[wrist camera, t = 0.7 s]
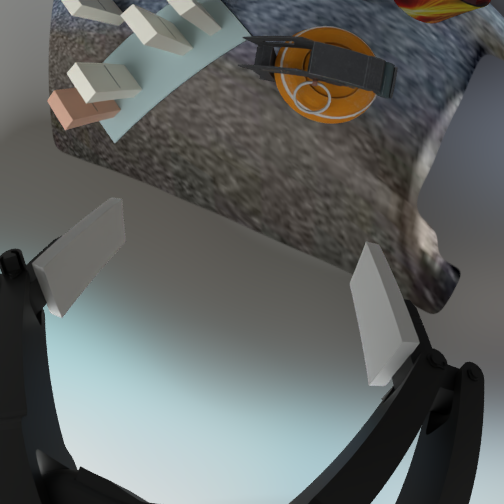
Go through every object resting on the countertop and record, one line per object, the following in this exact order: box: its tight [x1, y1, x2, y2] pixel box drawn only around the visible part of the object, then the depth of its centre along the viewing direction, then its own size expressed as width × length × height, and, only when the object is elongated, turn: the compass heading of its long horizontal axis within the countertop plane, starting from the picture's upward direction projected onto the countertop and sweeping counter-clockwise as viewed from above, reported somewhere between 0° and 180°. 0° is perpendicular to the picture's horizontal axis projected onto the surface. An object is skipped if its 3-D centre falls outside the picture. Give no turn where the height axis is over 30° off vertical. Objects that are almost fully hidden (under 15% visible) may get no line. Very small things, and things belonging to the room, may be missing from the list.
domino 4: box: [167, 0, 222, 36], centre depth 22 cm, size 2×5×11 cm, turn 33°
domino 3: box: [120, 4, 193, 56], centre depth 23 cm, size 2×5×11 cm, turn 33°
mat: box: [100, 0, 251, 143], centre depth 30 cm, size 25×12×1 cm, turn 123°
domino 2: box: [67, 62, 142, 104], centre depth 27 cm, size 2×5×11 cm, turn 33°
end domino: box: [47, 88, 121, 130], centre depth 28 cm, size 2×5×11 cm, turn 33°
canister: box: [238, 26, 398, 123], centre depth 21 cm, size 9×11×20 cm
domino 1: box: [61, 0, 124, 26], centre depth 21 cm, size 2×5×11 cm, turn 33°
